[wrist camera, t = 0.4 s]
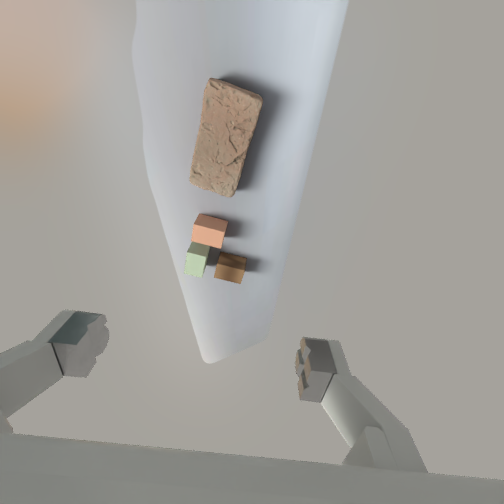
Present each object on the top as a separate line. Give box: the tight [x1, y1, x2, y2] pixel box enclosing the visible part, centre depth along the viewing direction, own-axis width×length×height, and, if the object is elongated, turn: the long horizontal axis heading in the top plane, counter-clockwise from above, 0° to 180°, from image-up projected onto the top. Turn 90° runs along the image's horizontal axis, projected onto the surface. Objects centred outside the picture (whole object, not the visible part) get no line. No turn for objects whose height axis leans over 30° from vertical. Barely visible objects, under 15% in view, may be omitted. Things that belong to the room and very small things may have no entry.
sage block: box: [184, 241, 210, 278], centre depth 56 cm, size 6×4×4 cm, turn 165°
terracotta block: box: [191, 214, 228, 249], centre depth 52 cm, size 6×4×4 cm, turn 75°
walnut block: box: [214, 252, 247, 284], centre depth 57 cm, size 6×4×4 cm, turn 75°
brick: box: [190, 78, 263, 197], centre depth 42 cm, size 17×8×5 cm, turn 162°
